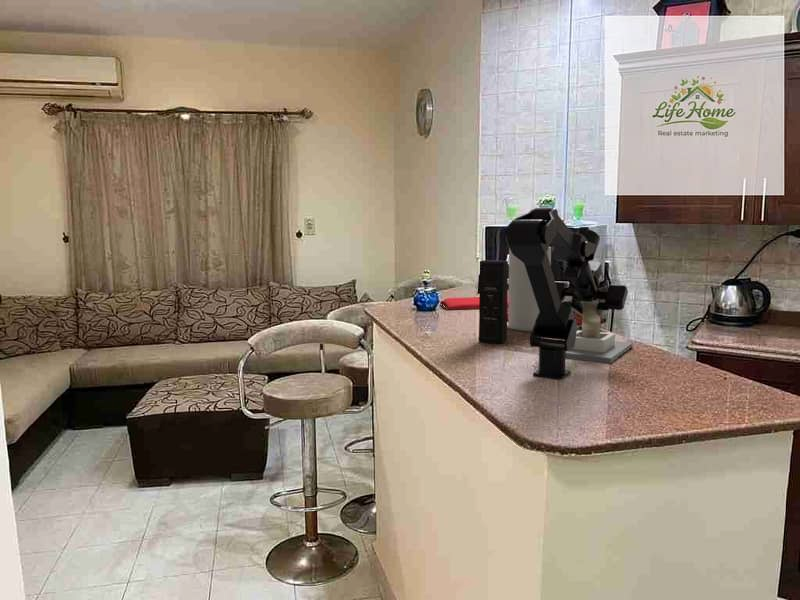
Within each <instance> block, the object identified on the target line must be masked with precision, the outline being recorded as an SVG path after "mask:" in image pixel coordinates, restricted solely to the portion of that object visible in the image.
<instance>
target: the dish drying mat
mask: <svg viewBox="0 0 800 600" xmlns="http://www.w3.org/2000/svg"><path fill="white" fill-rule="evenodd" d="M439 304H442V305H444V306H445V307H446V308H447V309H448V310H447V309H446V308H445V307H444V308H445V309H446V310H447V311H459V310H460V311H461V310H462V311H463V310H479V296H473V297H472V296H470V297H446V298H444V299H443V300H440V301H439ZM442 305H441V306H442ZM507 309H509V295H507Z"/></svg>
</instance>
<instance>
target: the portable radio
mask: <svg viewBox="0 0 800 600" xmlns="http://www.w3.org/2000/svg"><path fill="white" fill-rule="evenodd" d="M508 284H509V260H507V259H506V251H503V257H502V260H498V259H497V260H491V259H489V260H488V259H485V260H480V261H479V274H478V279H477V295H478V297H479V309H478V314H479V315H478V317H479V318H478V320H479V321H478V342H479V343H483V344H484V343H485V344H494V345H496V344H497V345H503V344H505V343H506V342H507V341H508V322H507V309H508V308H507V296H508Z"/></svg>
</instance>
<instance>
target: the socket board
mask: <svg viewBox="0 0 800 600" xmlns="http://www.w3.org/2000/svg"><path fill="white" fill-rule="evenodd" d="M633 345H634V344H633V342H627V341H616V333H611V332H601V331H600V339H595V338H585V337H582V330H579V329H577V333H576V340H575V347H574V348H572V349H570V350H568V351H566V359H574V360H582V361H590V362H598V363H605V362H606V363H608V364H612V363H614V362H615V361H616V360H617V359H619V358H620V357H621V356H623V355H624V354H625V353H624V352H625V351H627V350H628V349H629V348H630V347H632V346H633ZM633 347H634V346H633ZM633 347H632V348H633ZM628 351H629V350H628ZM628 351H627V352H628ZM623 353H624V354H623ZM622 354H623V355H622ZM620 355H621V356H620ZM619 356H620V357H619ZM618 357H619V358H618Z"/></svg>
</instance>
